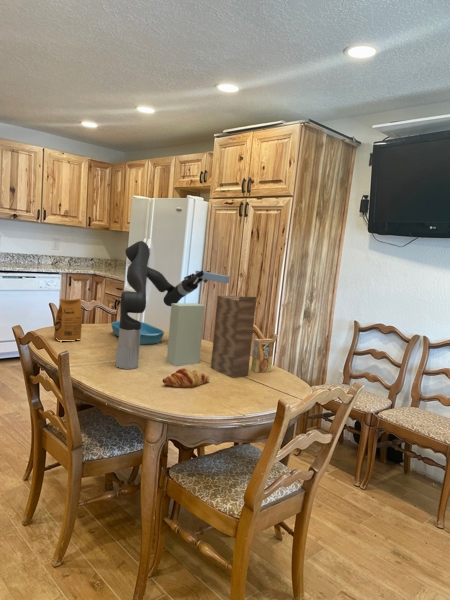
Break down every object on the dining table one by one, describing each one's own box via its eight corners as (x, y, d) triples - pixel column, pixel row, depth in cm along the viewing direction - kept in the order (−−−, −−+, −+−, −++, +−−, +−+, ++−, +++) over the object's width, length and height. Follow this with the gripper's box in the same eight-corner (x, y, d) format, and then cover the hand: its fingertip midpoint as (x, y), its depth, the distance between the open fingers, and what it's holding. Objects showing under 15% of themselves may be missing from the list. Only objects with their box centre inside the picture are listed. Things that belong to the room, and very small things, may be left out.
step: (199, 363, 204) (204, 305, 200) (174, 366, 195) (179, 305, 192) (191, 359, 209) (196, 303, 206) (166, 361, 200) (171, 303, 197)
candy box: (266, 369, 204) (269, 338, 203) (271, 371, 201) (274, 340, 199) (250, 370, 200) (254, 338, 198) (255, 373, 196) (259, 340, 194)
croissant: (204, 387, 180) (202, 369, 182) (217, 383, 172) (214, 364, 175) (158, 392, 168) (156, 372, 171) (169, 388, 161) (167, 367, 163)
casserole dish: (170, 345, 234) (171, 332, 233) (133, 348, 220) (134, 334, 219) (139, 331, 263) (140, 319, 262) (104, 332, 249) (105, 320, 248)
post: (247, 375, 191) (256, 297, 187) (232, 378, 185) (240, 297, 181) (225, 365, 203) (233, 291, 199) (210, 367, 198) (218, 291, 193)
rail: (228, 283, 197) (229, 276, 196) (223, 283, 195) (224, 276, 194) (200, 277, 214) (201, 270, 214) (195, 277, 212) (195, 270, 212)
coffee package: (52, 338, 223) (54, 297, 220) (75, 337, 231) (77, 297, 228) (58, 343, 215) (60, 300, 212) (82, 341, 223) (85, 300, 220)
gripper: (174, 278, 217) (192, 264, 204) (197, 279, 226) (215, 266, 213) (177, 292, 215) (195, 279, 202) (200, 292, 224) (219, 279, 211)
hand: (205, 272), depth 208 cm, fingers closed on rail, 3 cm apart
